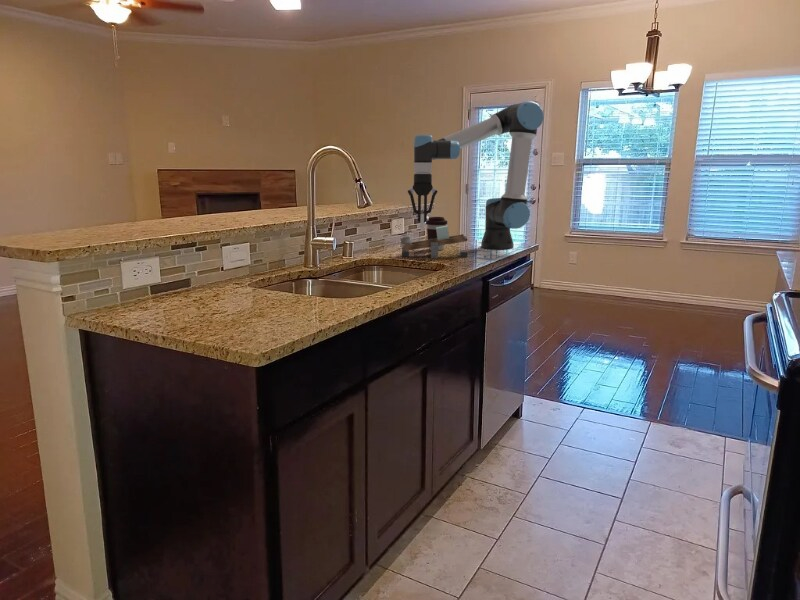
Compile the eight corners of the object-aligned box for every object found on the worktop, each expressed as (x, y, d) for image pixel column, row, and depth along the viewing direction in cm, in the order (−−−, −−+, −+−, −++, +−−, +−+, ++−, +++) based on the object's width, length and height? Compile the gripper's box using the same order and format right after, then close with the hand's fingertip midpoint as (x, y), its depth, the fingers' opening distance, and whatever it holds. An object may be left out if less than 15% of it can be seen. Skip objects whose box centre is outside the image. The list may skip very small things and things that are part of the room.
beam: (466, 239, 245) (464, 225, 244) (467, 241, 237) (465, 228, 235) (403, 248, 248) (401, 236, 246) (402, 251, 239) (400, 238, 238)
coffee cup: (423, 250, 259) (423, 218, 256) (428, 247, 269) (428, 216, 265) (444, 251, 257) (444, 218, 253) (449, 248, 266) (449, 216, 262)
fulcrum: (466, 254, 248) (466, 238, 247) (467, 258, 237) (467, 242, 235) (403, 254, 250) (402, 238, 248) (401, 258, 238) (401, 242, 237)
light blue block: (449, 239, 243) (447, 225, 242) (449, 240, 239) (447, 226, 238) (438, 240, 244) (436, 227, 243) (438, 242, 239) (436, 228, 238)
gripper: (438, 173, 239) (437, 228, 244) (407, 173, 239) (407, 228, 245) (438, 173, 231) (437, 230, 237) (406, 173, 232) (406, 230, 237)
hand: (422, 229), depth 241 cm, fingers closed
